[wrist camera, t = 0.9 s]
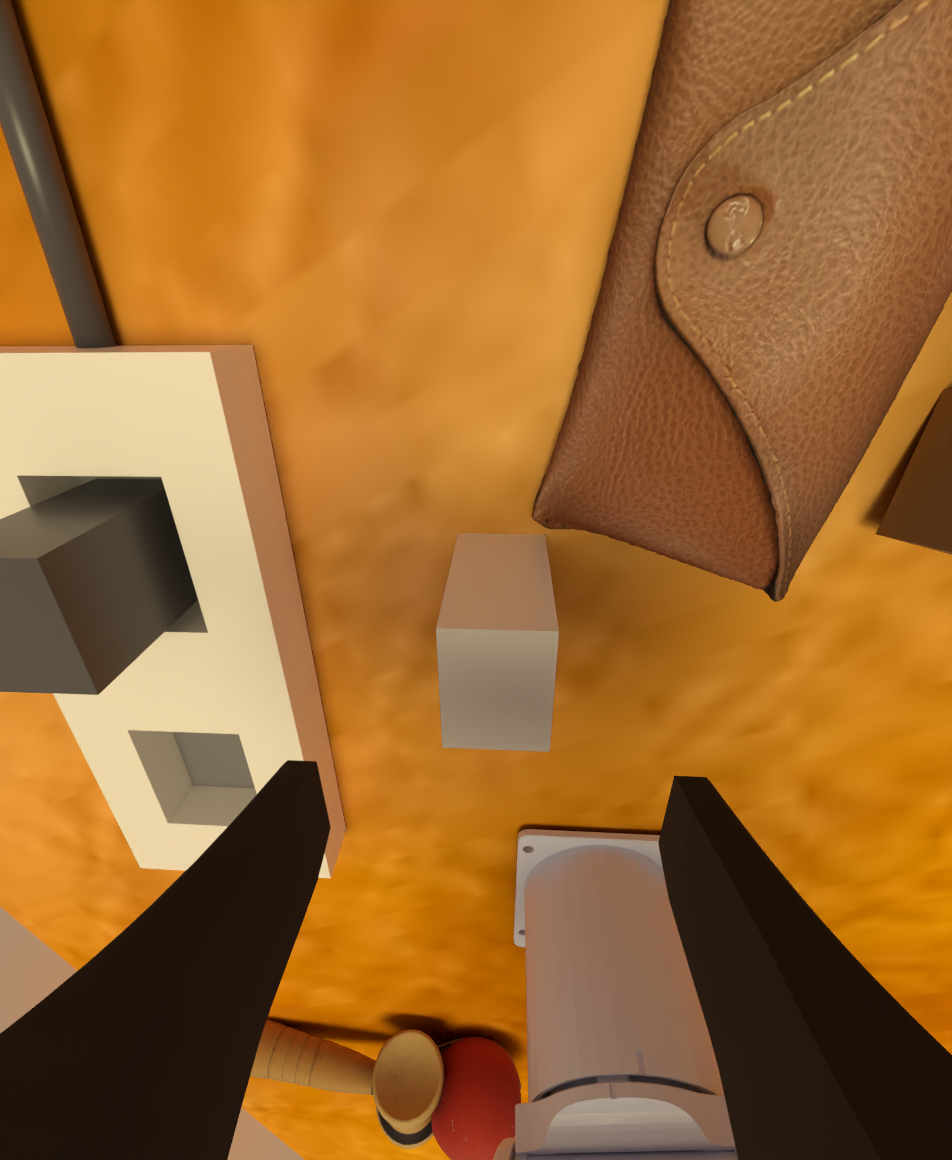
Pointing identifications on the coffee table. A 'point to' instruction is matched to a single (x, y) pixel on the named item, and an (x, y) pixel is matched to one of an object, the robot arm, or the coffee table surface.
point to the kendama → (409, 1085)
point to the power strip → (146, 547)
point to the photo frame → (926, 487)
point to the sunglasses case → (762, 279)
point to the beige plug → (498, 644)
